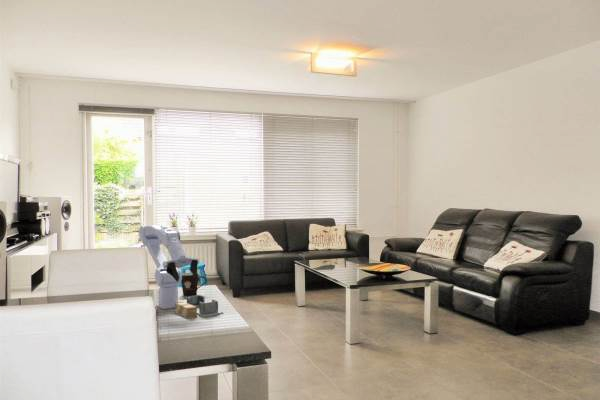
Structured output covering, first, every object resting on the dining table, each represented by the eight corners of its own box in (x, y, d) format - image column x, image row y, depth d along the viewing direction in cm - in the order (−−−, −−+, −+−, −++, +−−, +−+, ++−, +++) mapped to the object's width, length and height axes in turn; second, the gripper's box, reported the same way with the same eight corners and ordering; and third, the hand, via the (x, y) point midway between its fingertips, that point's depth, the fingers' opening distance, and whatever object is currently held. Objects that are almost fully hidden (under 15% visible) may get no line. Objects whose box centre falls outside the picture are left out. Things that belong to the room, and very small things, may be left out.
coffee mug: (176, 295, 224) (176, 274, 224) (189, 292, 231) (188, 272, 231) (195, 297, 218) (195, 276, 218) (207, 294, 226) (207, 273, 226)
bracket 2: (218, 312, 184) (217, 301, 184) (203, 314, 180) (203, 303, 181) (213, 310, 187) (213, 299, 187) (199, 312, 184) (199, 301, 184)
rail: (175, 312, 190) (174, 302, 190) (183, 311, 192) (183, 301, 192) (188, 318, 178) (188, 308, 178) (197, 317, 180) (196, 307, 180)
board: (184, 308, 195) (184, 307, 195) (203, 305, 199) (203, 304, 199) (203, 317, 179) (203, 315, 179) (223, 313, 184) (223, 312, 184)
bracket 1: (186, 307, 194) (186, 297, 194) (200, 305, 198) (200, 295, 198) (190, 309, 191) (190, 298, 191) (204, 306, 194) (204, 296, 194)
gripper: (162, 248, 185) (171, 273, 177) (196, 245, 193) (207, 269, 185) (158, 260, 189) (167, 286, 180) (192, 257, 197) (202, 281, 189)
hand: (187, 278), depth 183 cm, fingers open, 7 cm apart
